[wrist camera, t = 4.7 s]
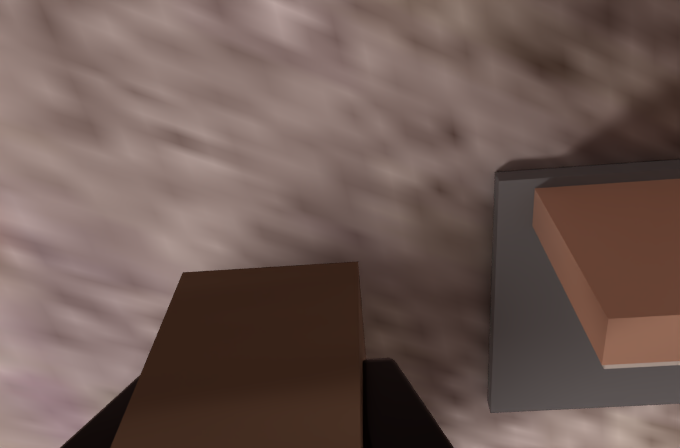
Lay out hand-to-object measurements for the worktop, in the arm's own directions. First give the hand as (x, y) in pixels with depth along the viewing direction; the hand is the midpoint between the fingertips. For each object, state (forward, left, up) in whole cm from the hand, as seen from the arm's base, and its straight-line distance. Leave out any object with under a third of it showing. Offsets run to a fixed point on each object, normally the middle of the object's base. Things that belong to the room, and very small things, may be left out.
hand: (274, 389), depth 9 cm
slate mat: (+9, -7, -11) cm, 16 cm away
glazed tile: (+9, -3, -10) cm, 14 cm away
